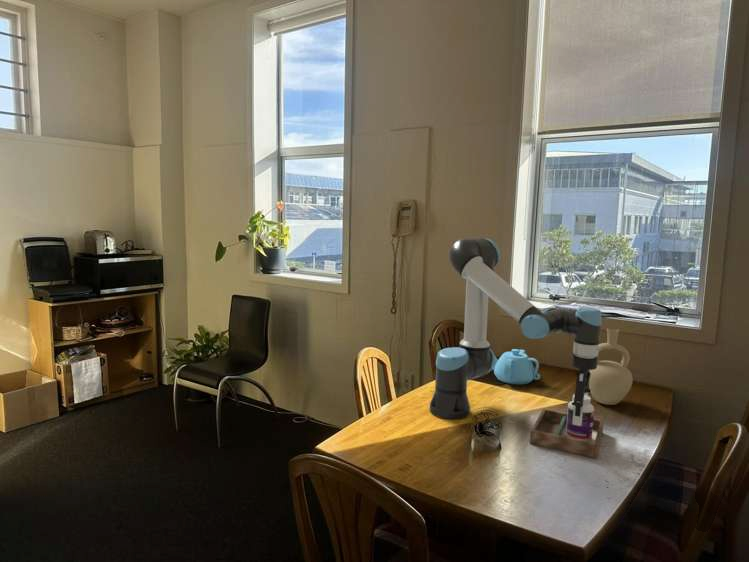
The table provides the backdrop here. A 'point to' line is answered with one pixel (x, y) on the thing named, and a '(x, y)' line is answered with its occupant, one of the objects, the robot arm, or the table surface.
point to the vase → (611, 374)
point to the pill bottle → (587, 421)
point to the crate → (564, 435)
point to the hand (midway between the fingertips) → (579, 417)
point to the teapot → (515, 368)
